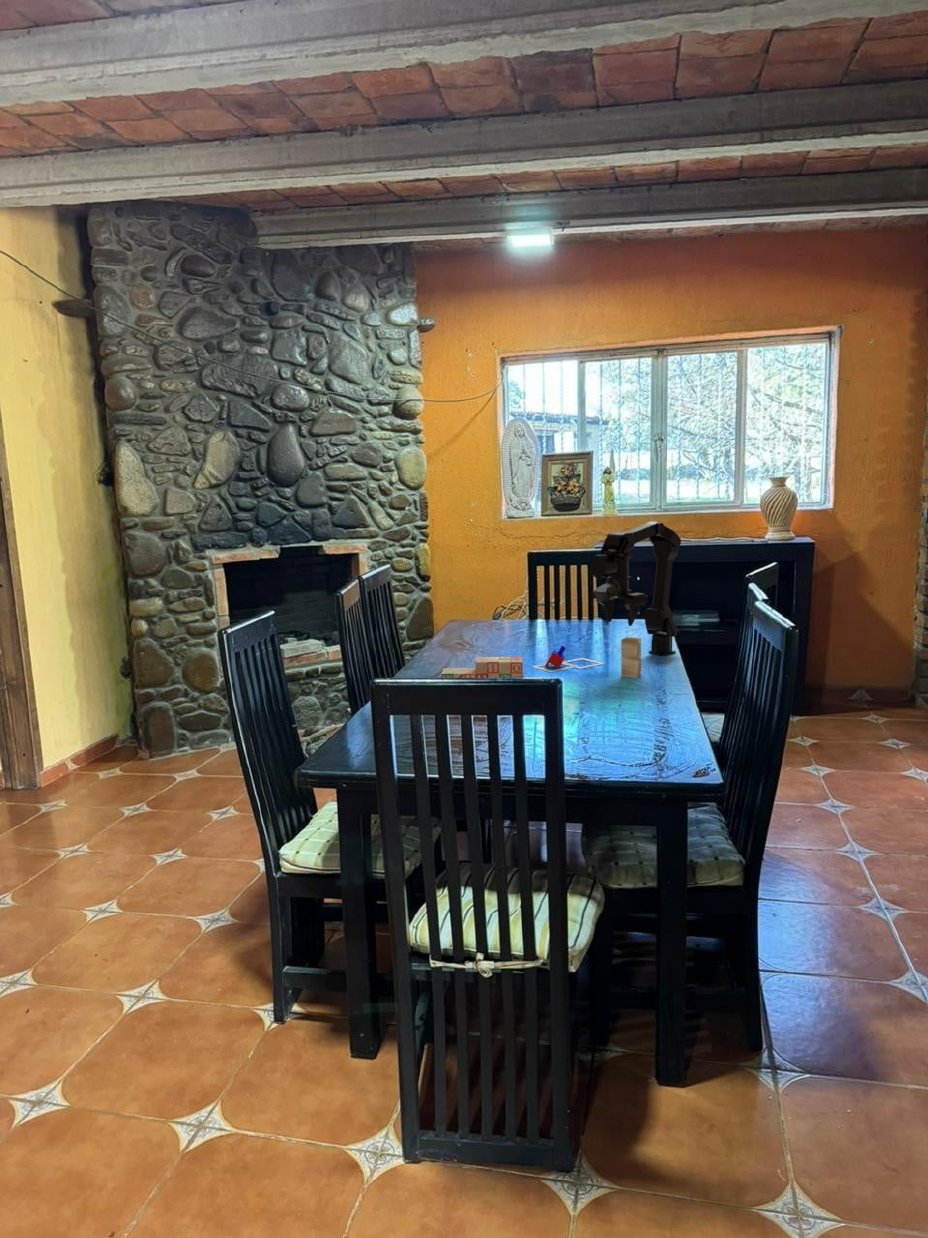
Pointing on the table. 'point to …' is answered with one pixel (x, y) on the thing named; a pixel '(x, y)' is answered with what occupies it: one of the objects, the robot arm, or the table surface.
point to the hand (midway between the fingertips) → (619, 623)
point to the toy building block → (556, 657)
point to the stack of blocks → (489, 668)
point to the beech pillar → (631, 657)
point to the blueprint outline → (569, 665)
